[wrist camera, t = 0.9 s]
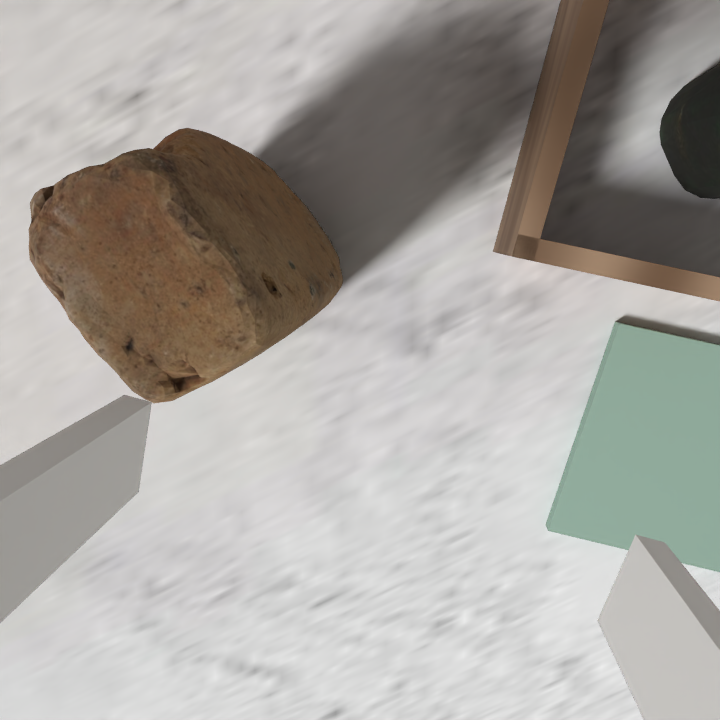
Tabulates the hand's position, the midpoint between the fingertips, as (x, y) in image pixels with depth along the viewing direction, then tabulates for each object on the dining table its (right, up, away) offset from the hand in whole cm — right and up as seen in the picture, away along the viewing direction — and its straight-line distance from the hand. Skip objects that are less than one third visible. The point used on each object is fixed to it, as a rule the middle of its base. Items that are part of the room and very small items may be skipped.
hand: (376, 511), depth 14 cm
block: (-6, +12, +23) cm, 27 cm away
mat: (+23, -3, +23) cm, 33 cm away
